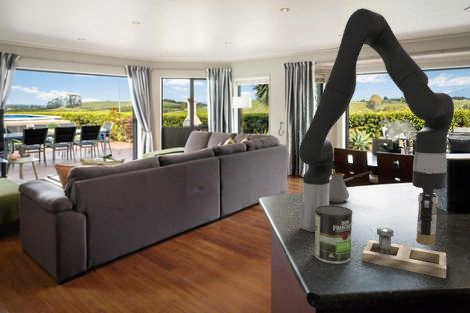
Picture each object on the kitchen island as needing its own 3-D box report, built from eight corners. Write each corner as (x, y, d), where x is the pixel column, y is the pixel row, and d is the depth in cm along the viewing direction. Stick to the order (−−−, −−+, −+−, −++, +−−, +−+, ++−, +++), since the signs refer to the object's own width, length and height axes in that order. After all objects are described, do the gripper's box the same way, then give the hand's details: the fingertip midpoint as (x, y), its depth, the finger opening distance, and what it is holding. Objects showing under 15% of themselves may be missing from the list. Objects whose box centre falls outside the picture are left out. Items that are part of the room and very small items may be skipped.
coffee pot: (323, 202, 155) (323, 171, 153) (325, 196, 165) (325, 167, 164) (372, 206, 148) (373, 173, 146) (370, 199, 159) (371, 169, 157)
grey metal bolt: (374, 258, 95) (375, 231, 94) (377, 253, 98) (378, 226, 97) (391, 262, 92) (392, 233, 91) (393, 256, 96) (394, 229, 95)
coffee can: (358, 259, 94) (360, 212, 92) (330, 267, 90) (331, 217, 88) (334, 247, 103) (335, 203, 102) (307, 252, 99) (308, 207, 97)
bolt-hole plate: (362, 260, 93) (362, 252, 93) (369, 247, 102) (369, 239, 102) (445, 278, 83) (446, 269, 82) (445, 261, 92) (445, 253, 92)
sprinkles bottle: (412, 240, 91) (414, 193, 89) (427, 239, 92) (430, 192, 90) (423, 247, 87) (425, 197, 85) (439, 246, 87) (442, 196, 85)
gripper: (414, 164, 95) (412, 222, 97) (411, 172, 83) (407, 237, 85) (445, 166, 91) (442, 226, 93) (446, 174, 79) (442, 243, 81)
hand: (425, 231), depth 89 cm, fingers closed on sprinkles bottle, 4 cm apart
